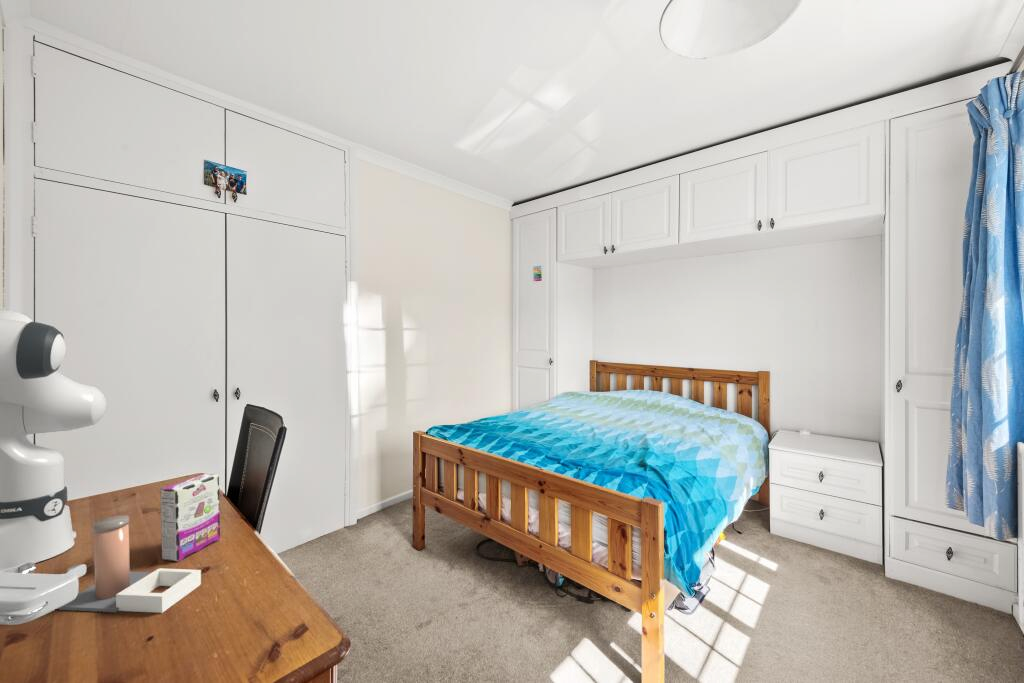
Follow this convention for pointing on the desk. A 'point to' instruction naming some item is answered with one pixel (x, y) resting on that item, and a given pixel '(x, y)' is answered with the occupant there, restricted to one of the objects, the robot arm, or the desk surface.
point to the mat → (90, 603)
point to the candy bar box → (189, 516)
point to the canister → (111, 556)
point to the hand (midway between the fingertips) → (57, 567)
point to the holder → (144, 601)
